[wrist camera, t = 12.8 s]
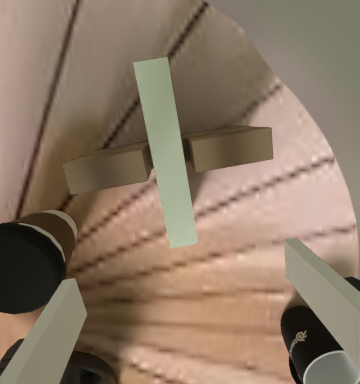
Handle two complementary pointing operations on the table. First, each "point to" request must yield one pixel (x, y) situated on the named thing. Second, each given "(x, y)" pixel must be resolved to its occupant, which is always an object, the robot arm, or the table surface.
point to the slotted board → (192, 149)
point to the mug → (315, 350)
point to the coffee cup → (34, 259)
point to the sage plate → (166, 149)
